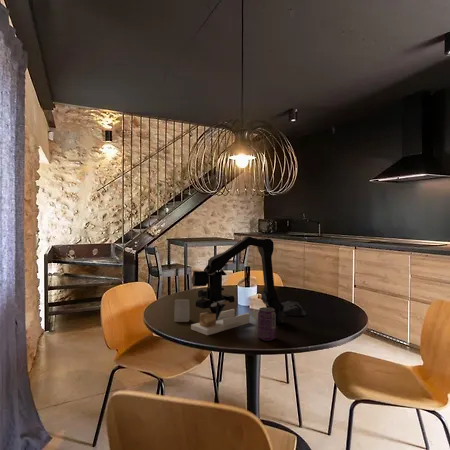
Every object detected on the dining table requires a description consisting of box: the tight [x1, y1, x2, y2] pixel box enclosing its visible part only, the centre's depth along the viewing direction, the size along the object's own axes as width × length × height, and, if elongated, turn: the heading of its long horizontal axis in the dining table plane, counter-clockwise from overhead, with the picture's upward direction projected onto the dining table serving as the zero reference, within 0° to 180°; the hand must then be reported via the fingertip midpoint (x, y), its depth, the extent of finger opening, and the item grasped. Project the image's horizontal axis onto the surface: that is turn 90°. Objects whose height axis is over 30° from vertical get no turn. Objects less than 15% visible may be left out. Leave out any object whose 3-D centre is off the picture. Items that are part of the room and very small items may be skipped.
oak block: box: [199, 311, 216, 328], centre depth 149 cm, size 5×5×5 cm
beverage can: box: [257, 306, 277, 342], centre depth 138 cm, size 7×7×12 cm
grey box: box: [173, 299, 190, 323], centre depth 163 cm, size 4×7×10 cm, turn 90°
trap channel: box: [190, 308, 251, 336], centre depth 155 cm, size 11×26×4 cm, turn 133°
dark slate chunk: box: [280, 300, 307, 317], centre depth 182 cm, size 15×22×5 cm
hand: (215, 320), depth 152 cm, fingers closed
